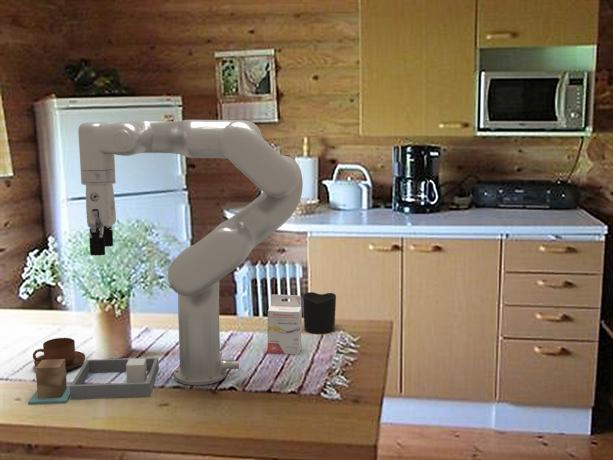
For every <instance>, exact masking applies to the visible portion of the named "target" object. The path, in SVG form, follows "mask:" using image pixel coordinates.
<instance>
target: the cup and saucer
mask: <svg viewBox="0 0 613 460" xmlns="http://www.w3.org/2000/svg"><path fill="white" fill-rule="evenodd" d="M75 343H76V342H75V339H73V338H70V337H56V338H51V339H48V340H46V341H45V342H43V343H42V345H43V346H42V348H38V349H36V350H35V351H33V353H32V358H33V360H34V362H33V363H34V364H33V365H34V366H35V368H36V367H37V366H38V364H39V363H40V362H41V360H50V359H65V366H66V371H68V370H72V369H74V368H76V367H79V366H81V364H84V362H85V361H86V355H85V353H83V352H81V351H79V350H76V344H75ZM41 352H42V353H43V354H42V355H40V356H38V357H37V355H36V354H38V353H41Z"/></svg>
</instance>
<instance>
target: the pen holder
mask: <svg viewBox="0 0 613 460" xmlns="http://www.w3.org/2000/svg"><path fill="white" fill-rule="evenodd" d="M302 303H303V307H302V308H303V325H304V326H303V327H304V330H305V332H308V333H312V334H318V335H321V334H329V333H331V332H333V331H334V329H335V322H336V308H337V307H336V305H337V294H335V293H333V292H327V293H322V294H321V293H317V292H311V291H310V292H305V293H304V294H303V295H302Z"/></svg>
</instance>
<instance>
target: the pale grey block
mask: <svg viewBox="0 0 613 460" xmlns="http://www.w3.org/2000/svg"><path fill="white" fill-rule="evenodd" d="M125 374H126V383H139V382H147V379H148V375H147V374H148V371H147V367H146V359H129V360H128V362H127V364H126V373H125Z"/></svg>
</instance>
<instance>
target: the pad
mask: <svg viewBox="0 0 613 460" xmlns="http://www.w3.org/2000/svg"><path fill="white" fill-rule="evenodd" d="M70 399H71V397H70V385H67V389H66V391H65V393H64V394H63V396H62V397H61V398H40V399H38V395H37V389H36V390H35V392H34V394H33V395H32V396H31V397H30V399H29V400H28V405H52V404H53V405H54V404H55V405H56V404H67V403H68V401H69V400H70Z"/></svg>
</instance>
